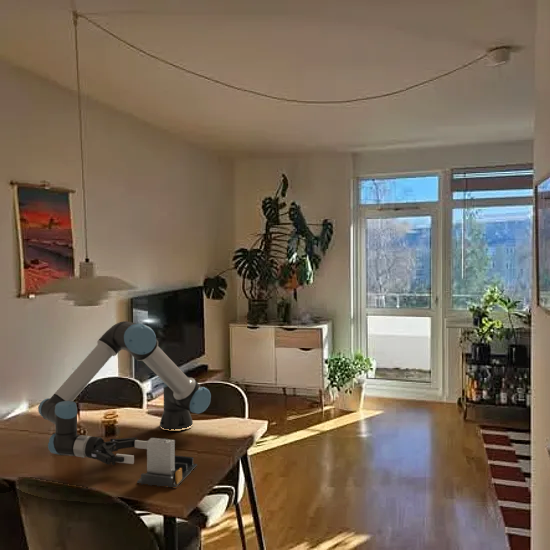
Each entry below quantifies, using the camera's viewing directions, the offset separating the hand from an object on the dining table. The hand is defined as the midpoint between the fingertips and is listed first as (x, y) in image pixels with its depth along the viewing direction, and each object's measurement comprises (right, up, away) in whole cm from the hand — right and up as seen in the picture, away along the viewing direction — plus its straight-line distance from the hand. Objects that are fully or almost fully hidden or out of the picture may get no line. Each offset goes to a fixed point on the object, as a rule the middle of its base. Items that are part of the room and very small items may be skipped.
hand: (142, 452), depth 189 cm
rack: (+8, -10, +5) cm, 14 cm away
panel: (+7, -9, -1) cm, 11 cm away
